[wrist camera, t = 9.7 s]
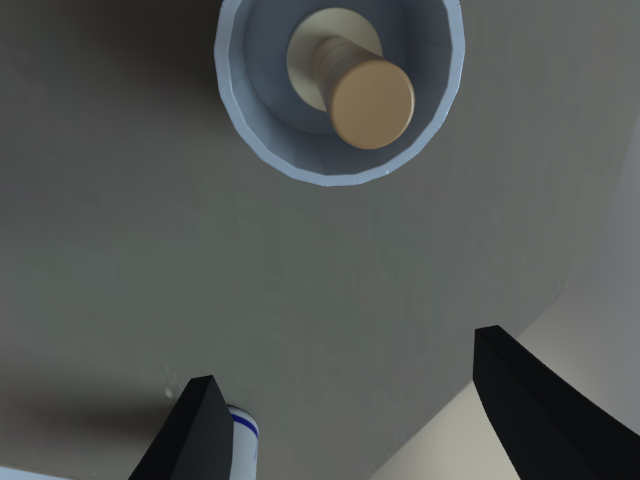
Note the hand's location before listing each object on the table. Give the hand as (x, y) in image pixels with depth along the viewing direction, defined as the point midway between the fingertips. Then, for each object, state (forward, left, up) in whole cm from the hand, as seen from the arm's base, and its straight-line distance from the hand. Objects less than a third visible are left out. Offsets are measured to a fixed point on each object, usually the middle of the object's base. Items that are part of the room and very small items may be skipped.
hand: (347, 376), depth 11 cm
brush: (-4, +6, -10) cm, 13 cm away
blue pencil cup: (-4, +6, -10) cm, 13 cm away
